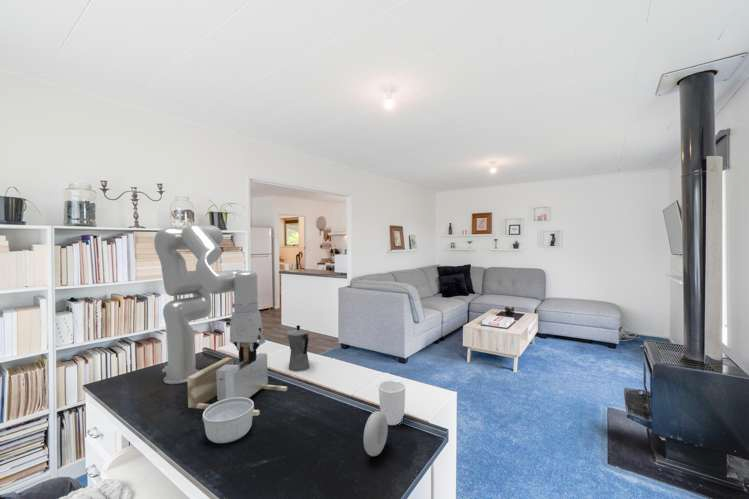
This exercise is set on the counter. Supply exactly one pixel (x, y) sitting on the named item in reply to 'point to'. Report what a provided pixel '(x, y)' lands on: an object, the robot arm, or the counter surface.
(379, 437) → the light grey round disc
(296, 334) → the coffeepot
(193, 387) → the frame
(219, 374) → the small box
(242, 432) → the ramekin
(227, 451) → the counter surface
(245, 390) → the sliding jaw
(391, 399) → the white cup
